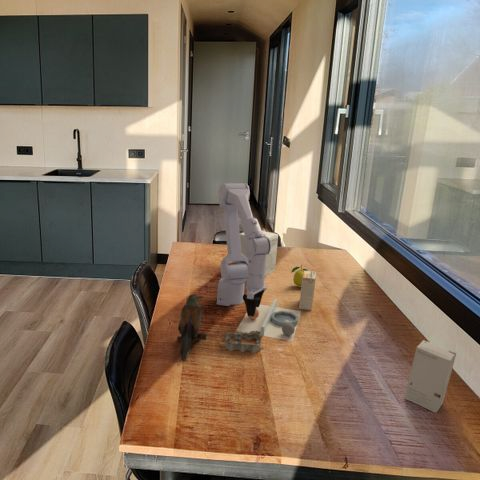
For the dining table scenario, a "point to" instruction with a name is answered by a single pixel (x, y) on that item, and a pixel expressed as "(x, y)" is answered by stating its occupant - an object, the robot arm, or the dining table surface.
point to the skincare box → (429, 375)
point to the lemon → (298, 276)
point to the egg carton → (238, 339)
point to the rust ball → (255, 314)
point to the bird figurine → (190, 325)
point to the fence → (268, 317)
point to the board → (272, 329)
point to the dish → (284, 318)
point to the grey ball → (288, 329)
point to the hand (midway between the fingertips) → (253, 311)
